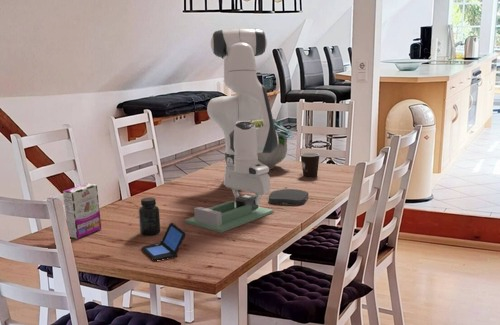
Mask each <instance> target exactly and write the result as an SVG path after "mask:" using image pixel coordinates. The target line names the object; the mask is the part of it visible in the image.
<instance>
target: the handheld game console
mask: <svg viewBox="0 0 500 325" xmlns="http://www.w3.org/2000/svg"><path fill="white" fill-rule="evenodd" d="M186 234H187V233H186V232H185V231H184V230H182V229H181V228H179V226H177V225H176V224H174V223H173V222H170V223H169V224H168V227H167V229H166V230H165V232H164V234H163V237H162V239H161V240H160V241H159V242H158V243H152V244H147V245H144V246H142V247H141V251H142V250H143V251H144V254H145V255H147V257H149V258H150V259H151V260H152V259H153V260H154V261H153V260H152V261H153V262H158V261H157V260H161V261H163V260H162V259H166V260H168V259H167V258H171V259H173V258H172V257H176V258H178V252H179V250H180V248H181V246H182V244H183V242H184V240H185V238H186ZM143 251H142V252H143Z"/></svg>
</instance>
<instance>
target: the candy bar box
mask: <svg viewBox="0 0 500 325" xmlns="http://www.w3.org/2000/svg"><path fill="white" fill-rule="evenodd" d="M62 193H63V202H64V210H65V220H66V227H67V226H68V229H67V231H68V230H69V234H70V237H71V239H76V240H79V239H82V238H84V237H87V236H89V235H91V233H92V234H94V233H96V232H98V231H101V230H102V222H101V213H100V203H99V194H98V193H99V192H98V184H96V183H89V182H88V183H84V184H80V185H78V186H74V187H71V188H69V189H65V190H63V191H62ZM86 235H87V236H86ZM83 236H84V237H83ZM70 237H69V238H70ZM81 237H82V238H81ZM78 238H79V239H78Z"/></svg>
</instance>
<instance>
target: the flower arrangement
mask: <svg viewBox="0 0 500 325" xmlns="http://www.w3.org/2000/svg"><path fill="white" fill-rule="evenodd" d="M249 122H251V123H254V124H255V127H256V128H260V127H263V120H262V119H257V120H252V121H249ZM273 122H274V126H275V130H276V132H277V135H278V147H277V148H276V149H275V150H274V151H273V152H272V153H258V155H257V156H258V161H260V162H261V163H263V164H264V165H266V166H268V167H269V170H273V169H274V168H275V167H276V165H278V164H279V163H281V162H282V161H283V160H284V159H285V158H286V155H287V153H288V139H292V138H295V136H294V135H293V134H292V131H291V130H288V129H287V128H286V127H284V123H283V122H282V121H280V122H278V121H277V119H274V118H273Z"/></svg>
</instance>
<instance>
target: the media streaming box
mask: <svg viewBox="0 0 500 325" xmlns="http://www.w3.org/2000/svg"><path fill="white" fill-rule="evenodd" d="M308 200H309V192H308V191H305V190H301V189H291V188H286V189H278V190H277V189H276V190H273V191H271V192H270V193H269V195H268V203H270V204H272V205H281V206H282V205H283V206H300V205H304V204H305V203H307V201H308Z"/></svg>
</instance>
